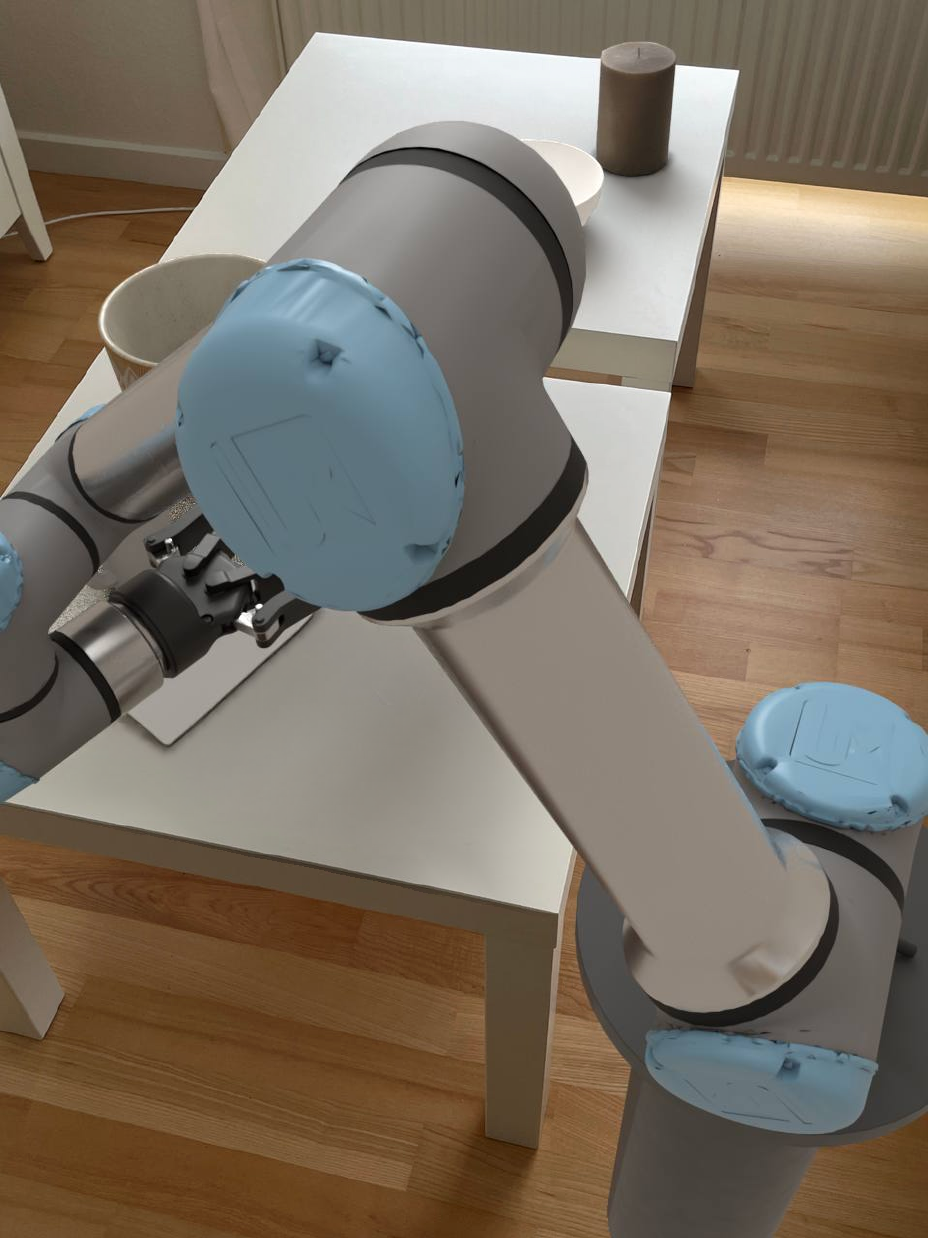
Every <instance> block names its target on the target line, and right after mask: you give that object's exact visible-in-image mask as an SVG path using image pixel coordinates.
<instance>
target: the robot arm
mask: <svg viewBox="0 0 928 1238" xmlns="http://www.w3.org/2000/svg"><path fill="white" fill-rule="evenodd" d="M520 140H521V139H519V138H517V137H516V136H514V135H512V134H510V133H508V132H506V131H504V130H502V129H500V128H497V127H493V126H491V125H487V124H482V123H477V122H474V121H466V120H442V121H434V122H428V123H424V124H420V125H416V126H412V127H410V128H408V129H405V130H402V131H400V132H397V133H396V134H394V135H392V136H391V137H389V138H388V139H386V140H385V141H383V142H381V143H380V144H378V145H377V146H375V147H373V148H372V149H371V150H370V151H368V152H367V153H366V154H365V155H364V156H363V157H362V158H361V159H360V160H359V161H357V162H356V163H355V165H354V166H353V167H352V168H351V169H350V170H349V172H348V173H347V174H346V175H345V176H344V177H343V178H342V180H341V181H340V182H339V183H338V185H337V187H335V188H334V189H333V190H332V191H331V192H330V193H329V194H328V196H326V198H325V199H324V200H323V201H322V202H321V203H320V204H319V205H318V207H317V208H316V209H315V210H314V211H313V212H312V213H311V214H310V215H309V216H308V217H307V219H306V220H305V221H304V222H303V223H302V224H301V225H300V226H299V228H297V230H295V232H293V234H292V235H291V236H290V237H289V238H288V239H287V240H286V241H285V242H284V243H283V244H282V245H281V247H279V248H278V249H277V250H276V252H274V254H272V256H271V257H270V258H269V259H268V260H266V261H267V262H266V263H265V264H264V265H263V266H262V267H261V269H260V270H259V271H258V272H257V273H256V274H255V275H254V276H253V277H251V278H250V279H248V280H245V281H243V282H242V283H241V284H240V285H239V286H238V287H237V288H236V290H235V291H234V292H233V293H232V295H231V296H230V297H229V298H228V299H227V301H226V302H225V304H224V306H223V308H222V310H221V311H220V313H219V314H218V316H217V317H216V319H215V320H214V321H213V322H211V323H210V324H209V325H207V326H206V327H205V328H204V329H202V330H201V331H200V332H198V333H197V334H196V335H195V336H193V337H192V338H191V339H189V340H188V341H187V342H186V343H184V344H183V345H182V346H180V347H179V348H178V349H177V350H175V351H174V352H173V353H171V354H170V355H169V356H168V357H166V358H165V359H164V360H162V361H161V362H160V363H159V364H157V365H156V366H155V367H153V368H152V369H151V370H150V371H148V372H147V373H146V374H144V375H143V376H142V377H141V378H139V379H138V380H137V381H135V382H134V383H133V384H132V385H130V386H129V387H128V388H126V389H125V390H124V391H123V392H122V391H121V392H120V393H118V394H117V395H116V396H115V397H113V398H112V399H111V400H110V401H108V402H107V403H101V404H97V405H95V406H93V407H91V408H89V409H88V410H86V411H85V412H84V413H83V414H82V415H81V416H80V417H78V418H76V419H75V420H74V421H73V422H72V423H70V424H69V425H68V426H67V427H66V428H64V430H63V431H62V432H60V433H59V435H58V436H57V437H56V439H54V443H53V444H52V445H51V446H50V447H49V448H48V449H47V451H45V452H44V454H43V455H41V456H40V458H39V459H38V460H37V461H36V463H34V465H32V466H31V467H30V469H29V470H28V471H27V472H26V473H25V474H24V475H23V476H22V477H21V478H20V480H18V482H17V483H16V484H15V485H14V486H13V487H12V488H11V489H10V490H9V491H8V492H7V494H6V495H4V496H3V497H1V499H0V805H2V804H4V803H5V802H7V801H8V800H10V799H12V798H13V797H15V796H16V795H18V794H19V793H21V792H22V791H24V790H25V789H27V788H28V787H30V786H31V785H33V784H34V785H36V784H38V783H39V782H40V781H41V778H43V777H44V776H45V775H46V774H48V773H49V772H50V771H52V770H53V769H54V768H56V767H57V766H59V764H61V763H62V762H64V761H65V760H66V759H67V758H69V757H70V756H71V755H73V754H74V753H75V752H77V751H78V750H79V749H81V748H82V747H83V746H85V745H86V744H88V742H90V741H91V740H93V739H95V737H97V736H98V735H100V734H101V733H102V732H104V731H105V730H106V729H107V728H109V727H110V726H111V725H112V724H113V723H115V722H116V721H118V720H119V719H121V718H122V717H124V716H125V715H126V714H127V712H129V711H130V710H131V709H133V708H134V707H135V706H137V705H138V704H140V703H141V702H142V701H144V700H145V699H146V698H148V697H149V696H150V695H152V694H153V693H154V692H156V691H157V690H158V689H160V688H161V687H162V685H163V684H164V678H175V677H176V676H178V675H179V674H180V673H182V672H183V671H185V670H186V669H187V668H189V667H190V666H191V665H193V664H194V663H195V662H197V661H198V660H199V659H201V658H202V657H203V656H205V655H206V654H207V653H208V651H209V650H210V648H211V646H212V645H213V644H214V642H215V641H216V640H217V639H218V638H220V637H222V636H225V635H228V634H232V633H235V632H237V631H238V630H239V631H241V632H244V633H246V634H248V635H250V636H253V637H255V640H256V644H257V646H258V647H259V648H268V647H270V646H271V645H272V644H273V643H274V642H275V641H276V640H277V639H278V637H279V636H280V635H281V634H282V633H283V632H284V631H285V630H286V629H287V628H289V627H291V626H292V625H294V624H296V623H297V622H299V621H301V620H302V619H304V618H306V617H307V616H309V615H311V614H312V613H313V614H314V613H316V612H317V611H319V610H320V609H323V608H324V609H328V610H332V611H337V612H355V613H356V614H357V615H358V616H360V618H362V620H365V621H367V622H369V623H371V624H375V625H378V626H386V627H411V628H412V629H413V631H414V632H415V634H416V636H418V638H419V639H420V641H421V642H422V643H423V645H424V646H425V647H426V648H427V650H428V651H429V653H430V654H431V655H432V657H433V658H434V659H435V661H436V663H438V665H439V666H440V668H441V669H442V670H443V671H444V673H445V675H446V676H447V677H448V678H449V680H450V681H451V682H452V684H453V685H454V687H455V688H456V690H457V691H458V692H459V693H460V695H461V696H462V697H463V699H464V700H465V702H466V703H467V705H468V706H469V707H470V708H471V710H472V711H473V712H474V714H475V715H476V717H477V718H478V719H479V721H480V722H481V723H482V725H483V726H484V727H485V729H486V730H487V731H488V733H489V735H490V736H491V737H492V738H493V740H494V741H495V742H496V744H497V745H498V747H499V748H500V750H502V752H503V753H504V754H505V756H506V757H507V759H508V760H509V762H510V763H511V764H512V765H513V767H514V768H515V770H516V771H517V773H518V774H519V775H520V776H521V778H522V779H523V781H524V782H525V783H526V784H527V786H528V787H529V788H530V790H531V791H532V793H533V794H534V795H535V797H536V798H537V799H538V801H539V803H540V804H541V805H542V806H543V807H544V809H545V810H546V812H547V813H548V814H549V816H550V817H551V818H552V820H553V821H554V823H555V824H556V826H557V827H558V828H559V829H560V831H561V832H562V833H563V835H564V836H565V838H566V839H567V840H568V841H569V843H570V844H571V846H572V848H574V850H575V851H576V853H577V854H578V855H579V857H580V858H581V859H582V861H583V862H584V863H585V865H587V866H588V867H589V869H590V870H591V871H592V873H593V874H594V876H595V877H596V878H597V880H598V881H599V882H600V884H601V885H602V886H603V888H604V889H605V891H606V892H607V893H608V895H609V896H610V897H611V899H612V900H613V901H614V903H615V904H616V906H617V907H618V908H619V910H620V911H621V912H622V914H623V915H624V916H625V919H624V924H623V933H622V942H623V951H624V955H625V959H626V962H627V965H628V968H629V970H630V972H631V974H632V975H633V977H634V979H635V980H636V981H637V983H638V984H639V985H640V987H641V988H642V989H643V991H644V992H645V993H646V995H647V996H648V997H649V999H650V1000H651V1001H652V1003H653V1004H654V1005H655V1007H656V1018H655V1022H654V1026H653V1030H649V1031H648V1032H647V1034H646V1041H647V1047H646V1052H645V1063H646V1066H647V1068H648V1071H649V1072H650V1074H651V1075H652V1077H653V1078H654V1079H655V1080H656V1081H657V1082H658V1083H659V1084H660V1085H662V1086H663V1087H664V1088H665V1089H666V1090H668V1091H669V1092H671V1093H672V1094H674V1095H675V1096H677V1097H679V1098H680V1099H682V1100H684V1101H686V1102H688V1103H690V1104H692V1105H694V1106H696V1107H698V1108H701V1109H703V1110H705V1111H708V1112H710V1113H713V1114H716V1115H718V1116H721V1117H723V1118H726V1119H729V1120H732V1121H736V1122H739V1123H743V1124H746V1125H750V1126H754V1127H759V1128H763V1129H768V1130H773V1131H779V1132H786V1133H795V1134H823V1133H830V1132H834V1131H836V1130H839V1129H842V1128H845V1127H847V1126H849V1125H851V1124H853V1123H854V1122H855V1121H856V1120H857V1119H858V1118H859V1116H860V1115H861V1113H862V1112H863V1109H864V1107H865V1103H866V1099H867V1095H868V1091H869V1088H870V1084H871V1081H872V1077H873V1075H875V1074H876V1073H875V1071H876V1070H877V1071H878V1064H877V1063H876V1058H877V1053H878V1047H879V1042H880V1036H881V1031H882V1025H883V1020H884V1014H885V1009H886V1003H887V998H888V993H889V987H890V982H891V976H892V971H893V965H894V960H895V954H896V952H898V953H901V954H903V955H905V956H907V957H909V958H913V957H914V956H915V955H916V953H917V946H916V945H914V944H912V943H910V942H908V941H906V940H903V939H901V938H899V932H900V927H901V922H902V921H901V918H902V913H903V907H904V904H905V899H906V894H907V888H908V883H909V878H910V873H911V867H912V862H913V857H914V852H915V847H916V843H917V839H918V836H919V832H920V829H921V826H922V824H923V823H924V820H925V817H927V816H928V734H927V732H926V731H925V730H924V729H923V727H922V726H921V725H920V724H918V723H916V722H914V721H913V720H912V719H911V717H910V715H909V713H908V712H906V711H905V710H904V709H903V708H901V707H900V705H898V704H896V703H894V702H893V701H891V700H890V699H888V698H886V697H884V696H882V695H880V694H878V693H876V692H872V691H870V690H868V689H865V688H863V687H858V686H854V685H850V684H846V683H842V682H841V683H840V682H833V681H808V682H807V681H806V682H800V683H798V684H796V685H795V686H791V687H788V688H787V687H783V688H779V689H777V690H775V691H773V692H771V693H769V694H768V695H766V696H765V697H763V698H762V699H760V701H759V702H758V703H757V704H756V705H755V706H754V707H753V708H752V709H751V711H750V712H749V714H748V715H747V718H746V719H745V723H744V725H743V727H741V729H740V730H739V732H738V734H737V736H736V740H735V745H734V750H735V753H736V755H735V759H734V760H735V763H734V767H733V770H732V772H731V770H730V769H729V767H728V765H727V764H726V762H725V761H726V759H725V758H724V757H723V755H722V754H721V752H720V750H719V748H718V747H717V745H716V743H715V742H714V741H713V739H712V737H711V735H710V734H709V731H708V730H707V729H706V727H705V725H704V724H703V721H701V719H700V717H699V716H698V714H697V712H696V711H695V708H694V707H693V705H692V704H691V702H690V701H689V699H688V697H687V696H686V694H685V692H684V691H683V689H682V688H681V685H680V684H679V682H678V681H677V679H676V677H675V676H674V674H673V673H672V671H671V669H670V667H669V666H668V664H667V663H666V661H665V659H664V658H663V656H662V655H661V652H660V651H659V649H658V648H657V646H656V644H655V642H654V641H653V639H652V638H651V635H650V634H649V633H648V631H647V629H646V628H645V626H644V624H643V623H642V621H641V620H640V618H639V616H638V614H637V613H636V611H635V609H634V607H633V606H632V604H631V603H630V601H629V599H628V598H627V596H626V594H625V592H624V591H623V589H622V588H621V587H620V584H619V583H618V581H617V579H616V577H615V576H614V575H613V573H612V571H611V570H610V568H609V567H608V565H607V563H606V561H605V559H604V558H603V556H602V555H601V553H600V551H599V550H598V548H597V547H596V545H595V543H594V541H593V540H592V538H591V536H590V535H589V532H587V530H586V528H585V527H584V525H583V523H582V521H581V520H580V518H579V517H578V515H579V513H580V509H581V506H582V504H583V501H584V498H585V496H586V494H587V490H588V487H589V481H590V480H589V477H590V476H589V475H590V474H589V466H588V461H587V460H586V458H585V456H584V454H583V452H582V450H581V449H580V447H579V445H578V444H577V441H576V439H575V438H574V437H573V435H572V433H571V432H570V430H569V428H568V426H567V424H566V423H565V421H564V419H563V418H562V416H561V414H560V412H559V411H558V409H557V407H556V406H555V404H554V402H553V400H552V399H551V396H550V394H549V393H548V391H547V389H546V387H545V386H544V385H545V384H544V380H543V379H544V377H545V375H546V374H547V372H548V370H549V368H550V367H551V365H552V363H553V362H554V360H555V358H556V356H557V354H558V353H559V351H560V350H561V347H562V345H563V343H564V342H565V340H566V338H567V336H568V335H569V333H570V331H571V330H572V328H573V325H574V323H575V320H576V317H577V314H578V311H579V309H580V306H581V303H582V298H583V293H584V290H585V289H584V288H585V284H586V278H587V244H586V239H585V234H584V229H583V228H584V227H582V224H581V221H580V217H579V214H578V212H577V209H576V207H575V205H574V202H573V200H572V198H571V195H570V193H569V191H568V189H567V188H566V186H565V185H564V183H563V182H562V180H561V179H560V177H559V176H558V175H557V173H556V172H555V170H554V169H553V168H552V167H551V166H550V165H549V164H548V163H547V162H546V161H545V160H544V159H543V158H542V157H541V156H540V155H539V154H538V153H537V152H536V151H535V150H534V149H532V148H531V147H529V146H528V145H526V144H525V143H523V142H522V141H520ZM191 496H193V499H194V500H195V504H194V505H192V506H191V507H190V508H189V509H187V510H186V511H185V512H184V513H183V514H181V515H180V516H179V517H178V518H176V519H175V520H174V521H172V524H171V525H169V526H168V527H166V528H164V529H162V530H159V531H157V532H155V533H153V534H151V535H148V536H147V537H145V538H144V540H143V542H144V546H145V549H146V552H147V556H148V559H149V562H150V565H151V567H153V568H156V569H155V570H153V569H147V570H144V571H142V572H140V573H139V574H137V575H136V576H134V577H133V578H131V579H130V580H128V581H127V582H125V583H124V584H122V585H121V586H120V587H118V588H117V589H116V588H114V589H113V590H112V591H110V592H109V594H108V597H107V601H106V600H101V599H98V600H97V601H96V602H94V603H93V604H92V605H90V606H89V607H87V608H85V609H84V610H82V611H81V612H80V613H79V614H77V615H76V616H74V617H72V618H71V619H70V620H68V621H67V622H65V623H63V624H62V625H61V626H59V627H58V628H57V629H55V630H54V631H51V632H49V631H50V629H51V628H52V626H54V624H55V623H56V621H57V620H58V619H60V617H61V616H62V614H63V613H64V612H65V611H66V610H67V609H68V607H69V606H70V605H71V603H72V602H73V601H74V600H75V599H76V597H77V596H78V595H80V593H81V591H82V590H83V589H84V588H85V587H86V586H87V585H86V584H87V583H88V582H89V581H90V579H91V578H92V577H93V576H94V575H95V573H96V572H97V571H98V572H99V569H100V568H101V567H102V564H103V563H104V562H105V561H106V560H107V558H108V557H109V556H110V555H111V554H112V553H113V552H114V550H115V549H116V548H117V547H118V546H119V545H120V544H121V542H122V541H123V540H124V539H125V538H126V537H127V536H128V535H129V534H131V533H132V532H133V531H134V530H136V529H138V528H139V527H141V526H143V525H144V524H146V523H148V522H149V521H151V520H152V519H154V518H155V517H157V516H159V515H160V514H161V513H162V512H164V511H166V510H167V509H171V508H173V507H175V506H176V505H178V504H179V503H180V502H182V501H184V500H186V499H187V498H189V497H191ZM235 556H236V557H237V558H238V559H239V560H240V561H241V562H242V563H243V564H244V565H243V564H240V563H238V562H235V561H232V559H233V558H234V557H235ZM251 580H254V584H255V590H254V591H253V588H252V583H251ZM252 609H255V610H254V611H252V612H249V613H247V611H249V610H252Z"/></svg>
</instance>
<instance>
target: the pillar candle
mask: <svg viewBox="0 0 928 1238" xmlns="http://www.w3.org/2000/svg"><path fill="white" fill-rule="evenodd" d="M676 64H677V56H676V53H675V52H674V51H673V50H672V49H671V48H669V47H667V46H665V45H663V44H659V43H657V42H651V41H630V42H629V41H627V42H626V41H625V42H622V43H618V44H614V45H611V46H610V47H608V48H606V49H603V50H602V51H601V55H600V68H599V85H598V87H599V88H598V107H597V121H596V139H595V140H596V141H595V143H596V145H595V150H596V151H595V153H596V154H595V159H596V161H597V162H598V163H599V164H600V166H601V168H602V169H604V170H607V171H609V172H610V173H613V174H616V175H620V176H630V177H631V176H641V175H643V176H644V175H650V174H653V173H657V172H658V171H659V170H661V169H662V168H664V166H666V164H667V163H668V157H669V147H670V145H669V144H670V136H671V124H672V112H673V111H672V110H673V102H674V101H673V99H674V90H675V89H674V88H675V76H676Z"/></svg>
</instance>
